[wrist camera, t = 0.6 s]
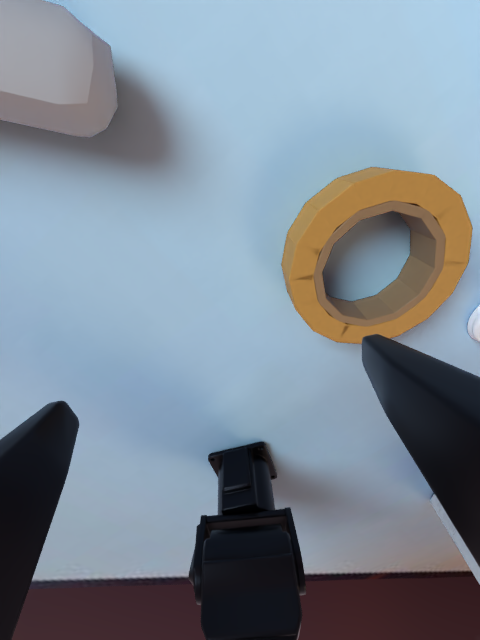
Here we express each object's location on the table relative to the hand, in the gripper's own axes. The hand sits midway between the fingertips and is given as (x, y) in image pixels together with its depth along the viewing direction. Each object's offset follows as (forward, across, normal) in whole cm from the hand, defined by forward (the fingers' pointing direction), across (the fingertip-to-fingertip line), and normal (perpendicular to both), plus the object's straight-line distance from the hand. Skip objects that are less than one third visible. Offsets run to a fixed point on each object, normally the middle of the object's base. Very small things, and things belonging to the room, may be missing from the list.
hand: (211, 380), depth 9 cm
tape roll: (+14, -10, +3) cm, 18 cm away
